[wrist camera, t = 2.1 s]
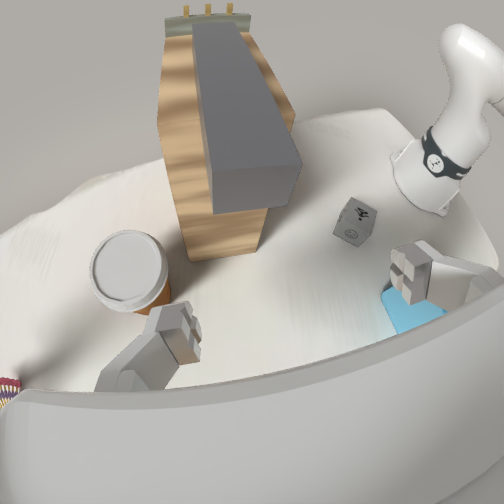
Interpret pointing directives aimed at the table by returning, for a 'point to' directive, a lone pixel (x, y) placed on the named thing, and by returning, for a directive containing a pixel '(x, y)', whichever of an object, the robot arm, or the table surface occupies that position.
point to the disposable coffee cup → (130, 272)
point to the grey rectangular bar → (240, 125)
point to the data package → (408, 311)
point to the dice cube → (355, 222)
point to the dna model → (8, 382)
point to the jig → (191, 145)
